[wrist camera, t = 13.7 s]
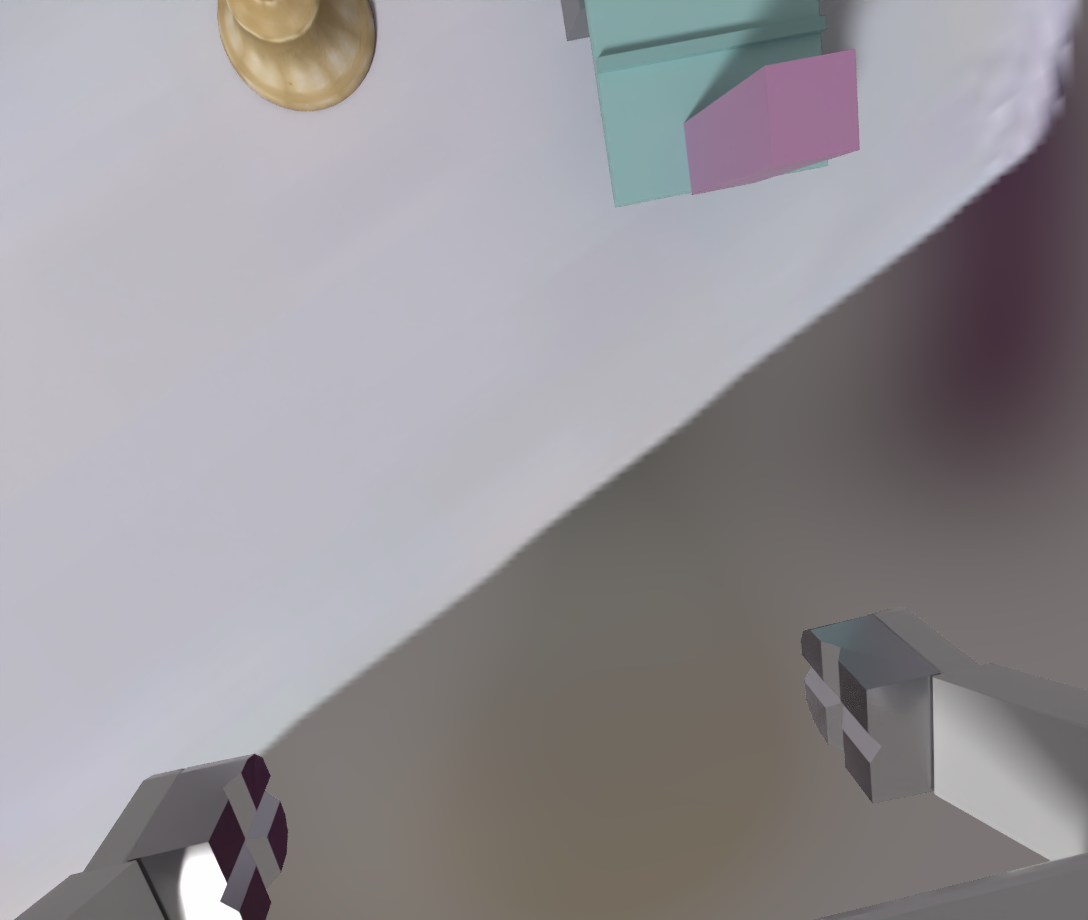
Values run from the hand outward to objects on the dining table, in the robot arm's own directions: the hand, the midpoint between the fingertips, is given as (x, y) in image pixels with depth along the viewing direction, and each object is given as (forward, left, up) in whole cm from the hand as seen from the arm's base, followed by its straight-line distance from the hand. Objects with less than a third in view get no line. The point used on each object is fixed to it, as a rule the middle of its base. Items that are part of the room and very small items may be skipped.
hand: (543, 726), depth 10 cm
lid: (-6, +21, -29) cm, 36 cm away
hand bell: (-21, +6, -34) cm, 41 cm away
